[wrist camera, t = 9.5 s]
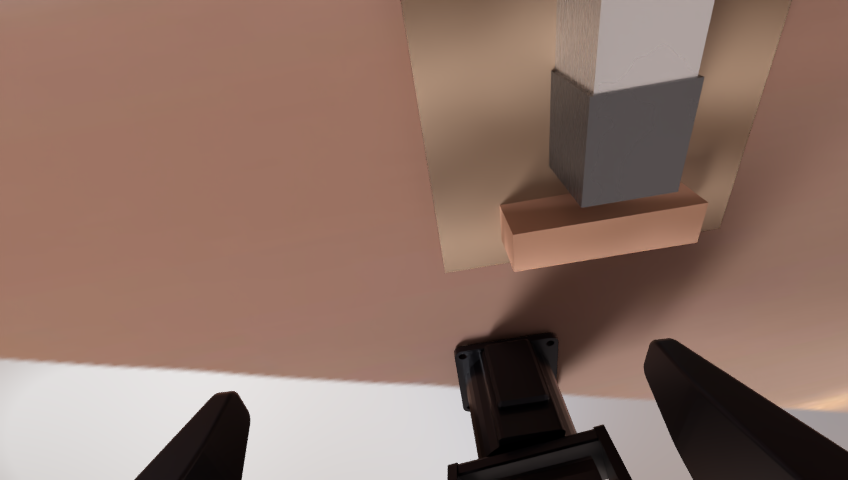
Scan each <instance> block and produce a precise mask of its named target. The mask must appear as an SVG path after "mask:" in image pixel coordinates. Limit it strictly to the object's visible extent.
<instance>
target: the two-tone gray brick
mask: <svg viewBox="0 0 848 480" xmlns="http://www.w3.org/2000/svg"><path fill="white" fill-rule="evenodd" d="M714 1H715V0H557V17H556V51H555V70H554V71H551V94H550V136H549V167H550V168H551V170H552V171H553V172H554V173H555V175H556V176H557V177H558V179H559V180H560V181H561V182H562V184H563V185H564V186H565V188H566V189H567V190H568V191H569V193H570V194H571V195H572V197H573V198H574V199H575V200H576V202H577V203H578V204H579V206H580V207H581V208H584V207H590V206H596V205H602V204H608V203H614V202H620V201H626V200H632V199H638V198H644V197H650V196H656V195H662V194H668V193H674V192H678V190H679V186H680V181H681V177H682V173H683V168H684V164H685V160H686V155H687V151H688V147H689V142H690V138H691V134H692V129H693V125H694V121H695V116H696V112H697V108H698V104H699V99H700V95H701V91H702V86H703V82H704V78H705V77H704V76H701V75H698V73H699V69H700V64H701V60H702V55H703V51H704V46H705V42H706V37H707V33H708V28H709V24H710V19H711V15H712V10H713V6H714Z"/></svg>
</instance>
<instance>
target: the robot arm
mask: <svg viewBox="0 0 848 480" xmlns="http://www.w3.org/2000/svg"><path fill="white" fill-rule="evenodd" d="M454 356H455V362H456V367H457V373H458V379H459V385H460V391H461V396H462V402H463V408H464V410H465V411H470V412H471V418H472V424H473V430H474V436H475V441H476V447H477V453H478V459H477V460H473V461H470V462H465V463H461V464H458V463H455V464H451V465H448V480H605V479H609V480H632V479H631V477H630V475H629V473H628V471H627V469H626V467H625V465H624V463H623V461H622V459H621V457H620V455H619V454H618V452H617V450H616V448H615V446H614V444H613V442H612V440H611V438H610V436H609V434H608V432H607V430H606V429H605V426H604V425H600V426H596V427H594V429H592V430H589V431H585V432H581V433H577V432H576V430H575V427H574V425H573V422H572V420H571V417H570V415H569V412H568V410H567V407H566V404H565V402H564V399H563V397H562V394H561V392H560V389H559V387H558V384H557V382H556V377H557V359H558V339H557V337H556V335H555V334H553V333H545V334H539V335H532V336H526V337H519V338H513V339H507V340H500V341H494V342H487V343H481V344H474V345H468V346H462V347H458V348H457V349H455V351H454ZM644 373H645V376H646V378H647V381H648V383H649V386H650V388H651V390H652V393H653V395H654V398H655V400H656V402H657V405H658V407H659V409H660V412H661V414H662V417H663V419H664V421H665V423H666V426H667V428H668V431H669V433H670V435H671V438H672V440H673V442H674V444H675V446H676V448H677V450H678V452H679V454H680V456H681V458H682V460H683V462H684V464H685V465H686V467H687V469H688V471H689V473H690V474H691V476H692V478H693V480H848V451H846V450H845V449H843V448H842V447H840V446H839V445H837V444H836V443H834V442H832V441H831V440H829V439H828V438H826V437H824V436H823V435H822V434H820V433H819V432H817V431H815V430H814V429H812V428H811V427H809V426H808V425H806V424H805V423H803V422H801V421H800V420H798V419H797V418H795V417H794V416H792V415H791V414H789V413H788V412H786V411H785V410H783V409H781V408H780V407H778V406H777V405H775V404H774V403H772V402H771V401H769V400H768V399H766V398H764V397H763V396H761V395H760V394H758V393H757V392H755V391H754V390H752V389H751V388H749V387H747V386H746V385H744V384H743V383H741V382H740V381H738V380H737V379H735V378H734V377H732V376H730V375H729V374H727V373H726V372H724V371H723V370H721V369H720V368H718V367H717V366H715V365H713V364H712V363H710V362H709V361H707V360H706V359H704V358H703V357H701V356H700V355H698V354H696V353H695V352H693V351H692V350H690V349H689V348H687V347H686V346H684V345H683V344H681V343H679V342H678V341H676V340H674V339H671V338H666V339H658V340H653V341H652V342H651V343H650V345H649V349H648V352H647V355H646V359H645V362H644ZM249 427H250V415H249V412H248V410H247V408H246V406H245V405H244V403H243V401H242V400H241V398H240V396H239V395H238V393H236V392H235V391H229V392H221V393H217V394H215V395H214V396H212V398H210V400H208V402H207V403H206V404H205V405H204V406H203V407H202V408H201V409H200V410H199V411H198V412H197V413H196V414H195V415H194V417H193V418H192V419H191V420H190V421H189V422H188V423H187V424H186V425H185V426H184V427H183V428H182V429H181V431H179V433H178V434H177V435H176V436H175V437H174V438H173V439H172V440H171V441H170V442H169V443H168V444H167V445H166V446H165V448H164V449H163V450H162V451H161V452H160V453H159V454H158V455H157V456H156V457H155V459H153V460H152V461H151V462H150V464H149V465H148V466H147V467H146V468H145V469H144V470H143V471H142V472H141V473H140V474H139V475H138V476H137V478H136V479H135V480H241V479H242V473H243V466H244V460H245V453H246V446H247V440H248V434H249Z"/></svg>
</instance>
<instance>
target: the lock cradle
mask: <svg viewBox="0 0 848 480" xmlns="http://www.w3.org/2000/svg"><path fill="white" fill-rule="evenodd" d="M791 1H792V0H715V1H714V6H713V10H712V15H711V19H710V24H709V28H708V33H707V37H706V42H705V46H704V51H703V55H702V60H701V64H700V69H699V73H698V75H701V76H704V77H705V78H704V82H703V86H702V91H701V95H700V99H699V104H698V108H697V112H696V116H695V121H694V125H693V129H692V134H691V138H690V142H689V147H688V151H687V155H686V160H685V164H684V168H683V173H682V177H681V181H680V186H679V190H678V192H674V193H668V194H662V195H656V196H650V197H644V198H638V199H632V200H626V201H620V202H614V203H608V204H602V205H596V206H590V207H584V208H581V207H580V206H579V204H578V203H577V202H576V200H575V199H574V198H573V197H572V195H571V194H570V193H569V191H568V190H567V189H566V188H565V186H564V185H563V184H562V182H561V181H560V180H559V179H558V177H557V176H556V175H555V173H554V172H553V171H552V170H551V168H550V167H549V136H550V94H551V71H554V70H555V51H556V17H557V0H401V5H402V11H403V17H404V23H405V29H406V36H407V42H408V48H409V54H410V60H411V66H412V72H413V79H414V85H415V91H416V97H417V103H418V109H419V116H420V122H421V128H422V134H423V140H424V146H425V153H426V159H427V165H428V171H429V177H430V183H431V189H432V196H433V202H434V208H435V214H436V220H437V226H438V233H439V239H440V245H441V251H442V257H443V263H444V269H445V273H449V272H455V271H461V270H467V269H474V268H480V267H486V266H492V265H498V264H504V263H511V265H512V268H513V270H514V272H517V271H523V270H530V269H536V268H542V267H548V266H554V265H561V264H567V263H573V262H579V261H585V260H592V259H598V258H604V257H610V256H616V255H623V254H629V253H635V252H641V251H647V250H654V249H660V248H666V247H672V246H678V245H685V244H691V243H697V241H698V238H699V235H700V232H702V231H708V230H714V229H719V228H720V225H721V222H722V219H723V216H724V213H725V210H726V206H727V203H728V200H729V197H730V194H731V191H732V187H733V184H734V181H735V178H736V175H737V172H738V169H739V165H740V162H741V159H742V156H743V153H744V150H745V146H746V143H747V140H748V137H749V134H750V131H751V128H752V124H753V121H754V118H755V115H756V112H757V109H758V105H759V102H760V99H761V96H762V93H763V90H764V87H765V83H766V80H767V77H768V74H769V71H770V68H771V64H772V61H773V58H774V55H775V52H776V49H777V46H778V42H779V39H780V36H781V33H782V30H783V27H784V23H785V20H786V17H787V14H788V11H789V8H790V5H791Z"/></svg>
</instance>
